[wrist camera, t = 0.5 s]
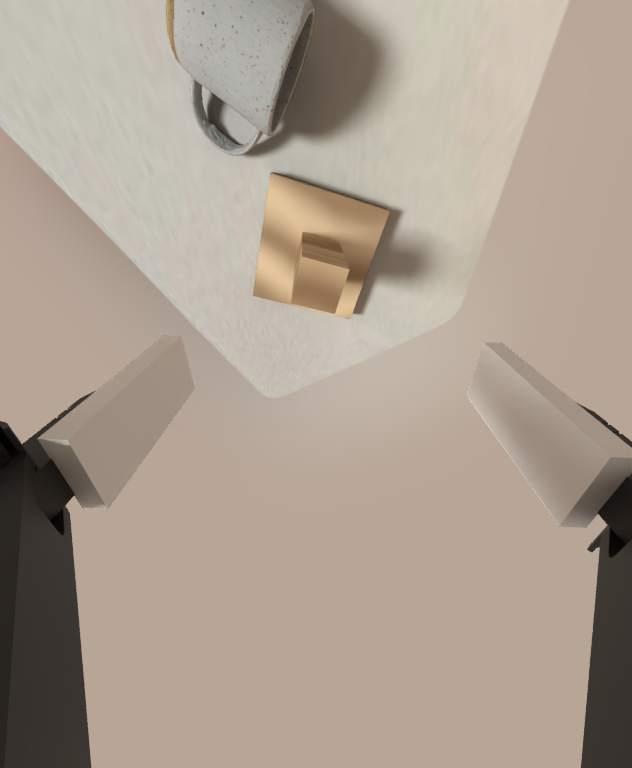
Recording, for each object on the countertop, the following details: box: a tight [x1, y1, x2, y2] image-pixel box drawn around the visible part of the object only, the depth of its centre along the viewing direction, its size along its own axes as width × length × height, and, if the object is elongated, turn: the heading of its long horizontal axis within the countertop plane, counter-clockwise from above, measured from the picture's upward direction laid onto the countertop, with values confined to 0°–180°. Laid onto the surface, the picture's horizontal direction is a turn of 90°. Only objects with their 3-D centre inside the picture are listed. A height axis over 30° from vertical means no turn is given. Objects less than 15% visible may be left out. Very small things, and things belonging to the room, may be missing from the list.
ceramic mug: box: [166, 0, 315, 156], centre depth 22 cm, size 11×8×8 cm
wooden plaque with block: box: [253, 173, 390, 319], centre depth 29 cm, size 12×12×10 cm
